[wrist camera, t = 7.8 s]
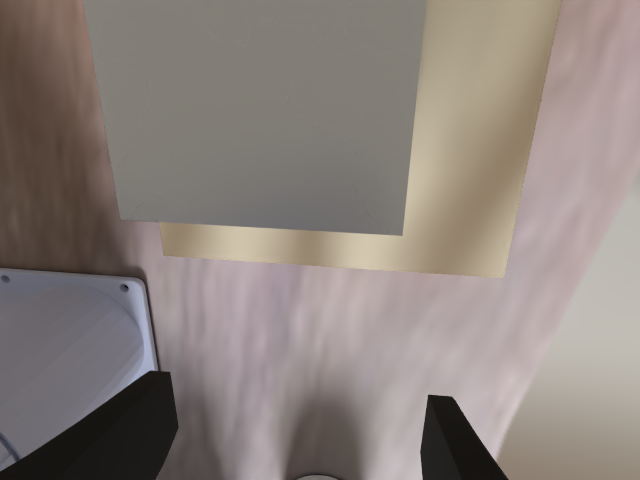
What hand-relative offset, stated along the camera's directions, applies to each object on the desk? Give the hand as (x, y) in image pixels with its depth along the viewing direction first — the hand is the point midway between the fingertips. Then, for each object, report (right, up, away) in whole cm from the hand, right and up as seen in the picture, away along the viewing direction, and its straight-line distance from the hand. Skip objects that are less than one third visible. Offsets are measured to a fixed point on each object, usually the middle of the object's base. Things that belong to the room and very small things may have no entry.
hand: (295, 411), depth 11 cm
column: (+1, +10, +1) cm, 10 cm away
